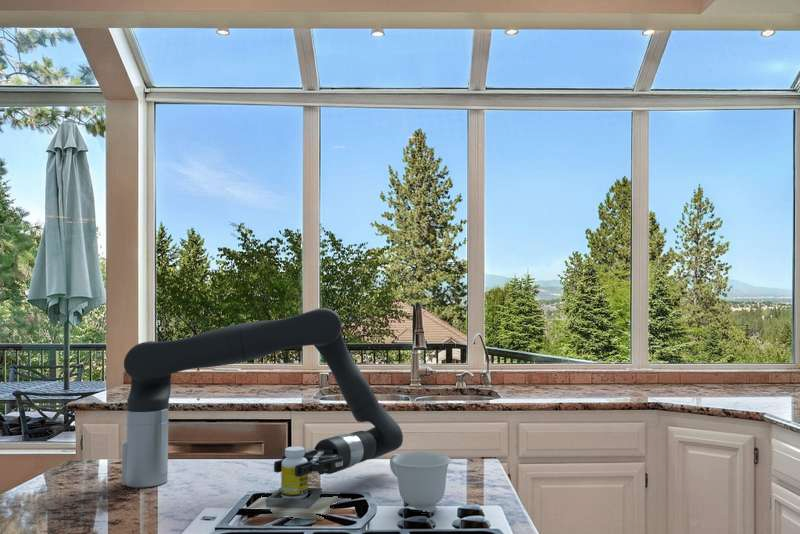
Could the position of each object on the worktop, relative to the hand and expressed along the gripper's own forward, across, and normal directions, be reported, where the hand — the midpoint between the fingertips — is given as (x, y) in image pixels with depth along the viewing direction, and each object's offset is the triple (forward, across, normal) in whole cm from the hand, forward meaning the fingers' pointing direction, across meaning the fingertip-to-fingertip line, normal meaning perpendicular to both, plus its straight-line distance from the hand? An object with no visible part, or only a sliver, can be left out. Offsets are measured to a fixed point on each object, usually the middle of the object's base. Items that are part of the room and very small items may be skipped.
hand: (286, 469), depth 129 cm
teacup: (-16, +22, +8) cm, 28 cm away
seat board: (-2, 0, +8) cm, 8 cm away
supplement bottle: (-3, 0, +6) cm, 7 cm away
